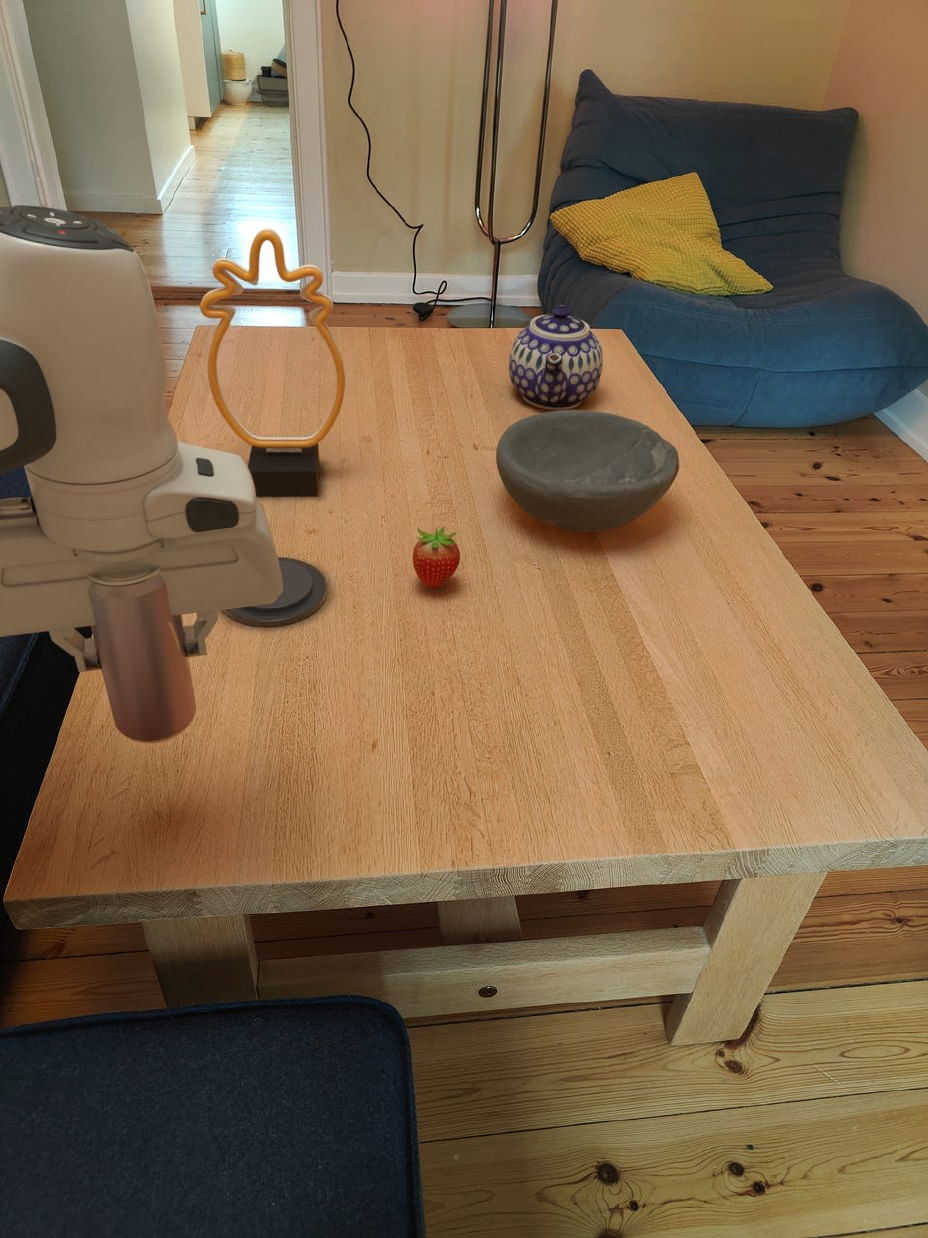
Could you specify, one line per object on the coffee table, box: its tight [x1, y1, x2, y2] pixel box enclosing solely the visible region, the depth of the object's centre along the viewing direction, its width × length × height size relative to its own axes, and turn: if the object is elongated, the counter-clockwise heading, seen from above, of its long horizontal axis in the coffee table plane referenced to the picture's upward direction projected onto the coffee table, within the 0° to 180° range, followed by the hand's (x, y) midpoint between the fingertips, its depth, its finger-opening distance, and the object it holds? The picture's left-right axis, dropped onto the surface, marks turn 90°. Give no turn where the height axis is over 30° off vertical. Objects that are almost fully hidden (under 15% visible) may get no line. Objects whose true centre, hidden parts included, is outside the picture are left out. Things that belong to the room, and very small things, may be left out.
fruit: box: [412, 526, 461, 589], centre depth 96 cm, size 5×5×8 cm
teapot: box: [508, 304, 604, 411], centre depth 137 cm, size 25×15×15 cm, turn 169°
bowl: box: [495, 409, 680, 533], centre depth 110 cm, size 23×22×10 cm
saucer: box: [222, 556, 328, 628], centre depth 96 cm, size 12×12×1 cm
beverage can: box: [86, 567, 197, 744], centre depth 61 cm, size 6×6×15 cm
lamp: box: [199, 228, 346, 498], centre depth 106 cm, size 17×9×32 cm, turn 96°
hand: (145, 658), depth 62 cm, fingers closed on beverage can, 6 cm apart
